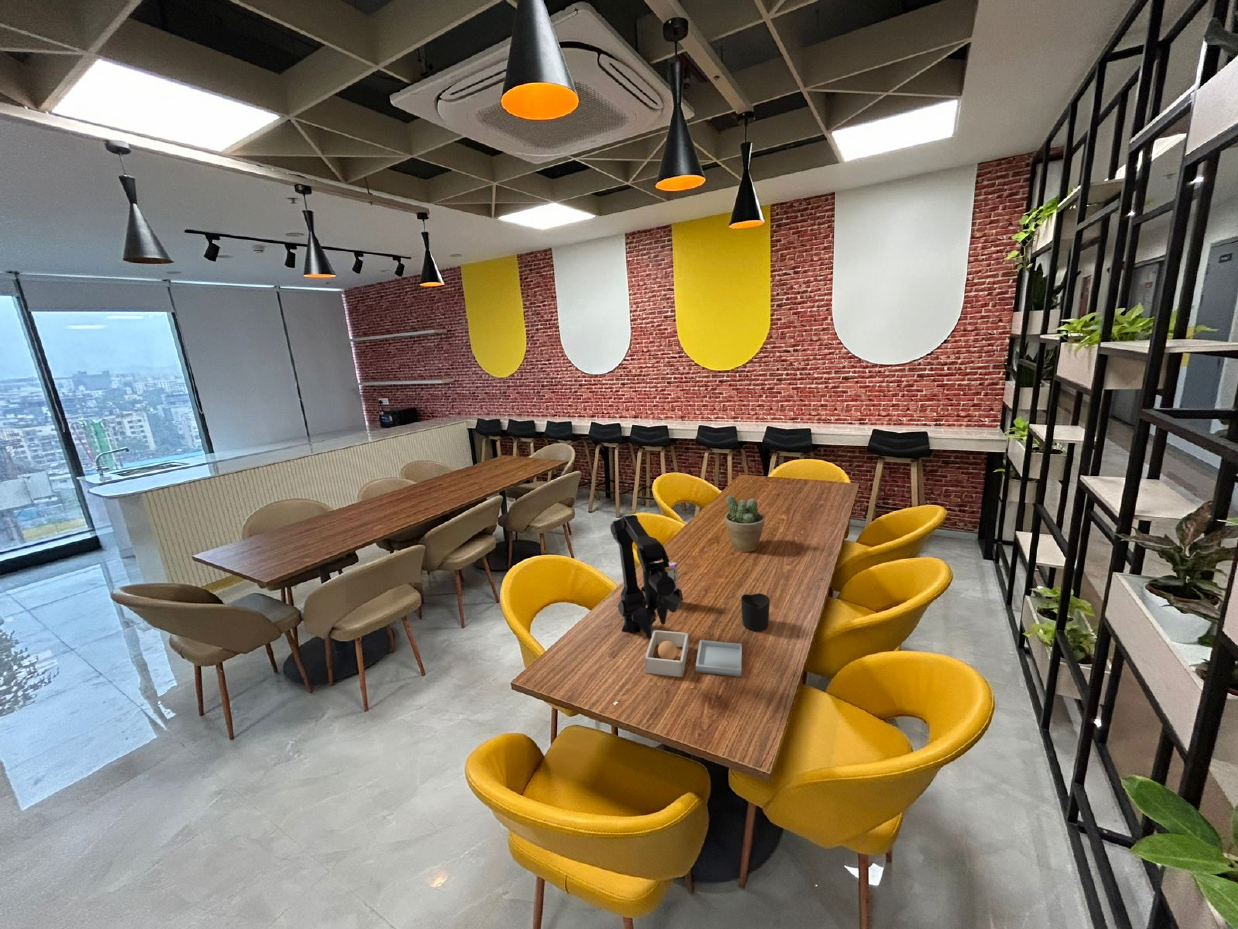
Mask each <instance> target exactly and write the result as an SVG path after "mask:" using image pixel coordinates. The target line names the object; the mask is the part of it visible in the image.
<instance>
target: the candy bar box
mask: <svg viewBox="0 0 1238 929" xmlns="http://www.w3.org/2000/svg"><path fill="white" fill-rule="evenodd" d="M658 562H661V561H656V563H658ZM669 566H670V567H667V568H665V571H667V572H668V575H669V576H670V577H671V578H672V579H673V580H674V582H675V589H674V591H675V590H676V589H677V588H678V589H679V583H678V582H679V579H678V562H673V561H672V562H670V561H669Z"/></svg>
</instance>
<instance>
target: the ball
mask: <svg viewBox="0 0 1238 929" xmlns="http://www.w3.org/2000/svg"><path fill="white" fill-rule="evenodd" d="M657 654H658V656H659V659H667V660H674V659H675V658H676V657H677V654H678V647H676V646H675V645H674V643H672V642H670V641H664V642H662V643H661V644H660V645H658V648H657Z"/></svg>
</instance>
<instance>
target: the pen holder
mask: <svg viewBox="0 0 1238 929" xmlns="http://www.w3.org/2000/svg"><path fill="white" fill-rule="evenodd" d="M740 599H741V602H740V603H741V604H740V605H741V623H742V626H743V627H744V628H745V629H747V630H748V631H751V632H762V631H765V630H766V629H768V627H769V621H770V620H769V618H770V617H769V616H770V601H771V600H770V598H769V597H768V596H767V595H766V594H764V593H754V594H747V593H746V594H743V595H741V598H740Z"/></svg>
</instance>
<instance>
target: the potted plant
mask: <svg viewBox="0 0 1238 929" xmlns="http://www.w3.org/2000/svg"><path fill="white" fill-rule="evenodd" d="M725 499H726V500H725V501H726V504H727V506H728V511H729V512H727V513H726V514H725V515H724V520H725V521H724V522H725V527H726V528H727V529H726V530H727V533H728V537H729V538H728V539H729V540H730V544H731V547H732V548H733V550H735V551H737V552H739V553H752V552H755V551H756V550H758V547H759V543H760V541H761V537H762V533H763V529H764V527H765V522H766V516H765V515H764V514H762V513H759V512H758V510H759V508H758V507H759V506H758V505H759V504H758V503H759V502H758V501H757V499H755V498H749V499H748V500H747V501H746V500H744V499H741V500H740V501H739V502H737V500H736V498H735V497H734V495H729V496H727V497H726V498H725Z"/></svg>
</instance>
